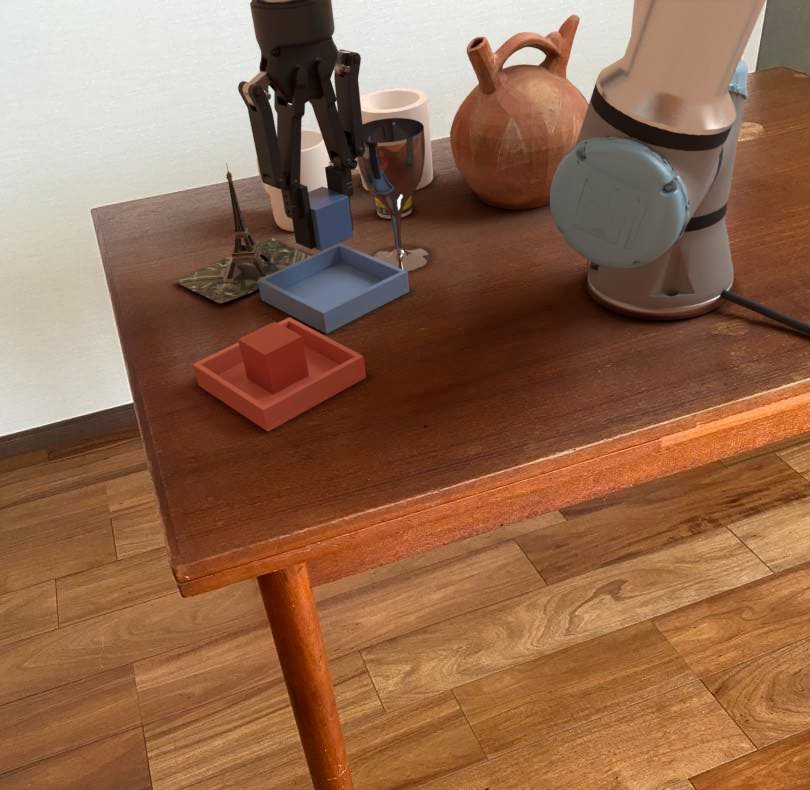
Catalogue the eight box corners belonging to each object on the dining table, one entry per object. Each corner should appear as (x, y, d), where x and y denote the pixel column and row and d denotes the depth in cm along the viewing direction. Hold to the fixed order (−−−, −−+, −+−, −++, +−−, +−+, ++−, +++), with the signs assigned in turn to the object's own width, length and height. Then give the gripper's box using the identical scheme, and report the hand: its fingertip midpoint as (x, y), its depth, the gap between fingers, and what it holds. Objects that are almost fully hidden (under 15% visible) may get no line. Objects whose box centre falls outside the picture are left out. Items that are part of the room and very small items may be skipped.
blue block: (353, 237, 97) (348, 196, 94) (321, 251, 95) (315, 210, 92) (328, 226, 100) (322, 186, 96) (296, 240, 97) (289, 199, 94)
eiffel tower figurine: (273, 241, 114) (252, 133, 105) (322, 262, 108) (305, 150, 99) (175, 284, 107) (144, 173, 98) (222, 309, 102) (193, 194, 93)
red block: (309, 375, 89) (302, 335, 86) (273, 394, 87) (264, 354, 83) (282, 360, 91) (274, 321, 88) (247, 378, 89) (237, 339, 86)
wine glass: (442, 248, 108) (435, 120, 98) (416, 278, 103) (405, 145, 93) (384, 241, 111) (371, 116, 101) (355, 269, 106) (339, 140, 96)
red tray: (366, 377, 88) (363, 355, 87) (267, 432, 83) (262, 410, 81) (293, 337, 95) (289, 316, 94) (198, 385, 90) (192, 364, 88)
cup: (304, 237, 114) (291, 157, 107) (244, 218, 121) (228, 141, 114) (349, 214, 118) (338, 136, 112) (288, 197, 125) (275, 121, 118)
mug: (346, 203, 121) (336, 122, 114) (333, 177, 129) (322, 99, 122) (441, 186, 123) (436, 104, 116) (422, 161, 130) (417, 83, 123)
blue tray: (409, 291, 101) (407, 271, 99) (326, 334, 95) (323, 313, 94) (342, 262, 108) (339, 242, 106) (261, 300, 103) (257, 280, 101)
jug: (551, 157, 128) (556, -2, 114) (616, 199, 115) (630, 26, 101) (433, 184, 124) (423, 23, 110) (486, 231, 111) (483, 55, 97)
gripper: (337, -32, 87) (363, 202, 103) (186, 8, 79) (239, 255, 95) (387, -25, 83) (406, 218, 99) (233, 19, 75) (281, 275, 91)
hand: (324, 236), depth 97 cm, fingers closed on blue block, 4 cm apart
